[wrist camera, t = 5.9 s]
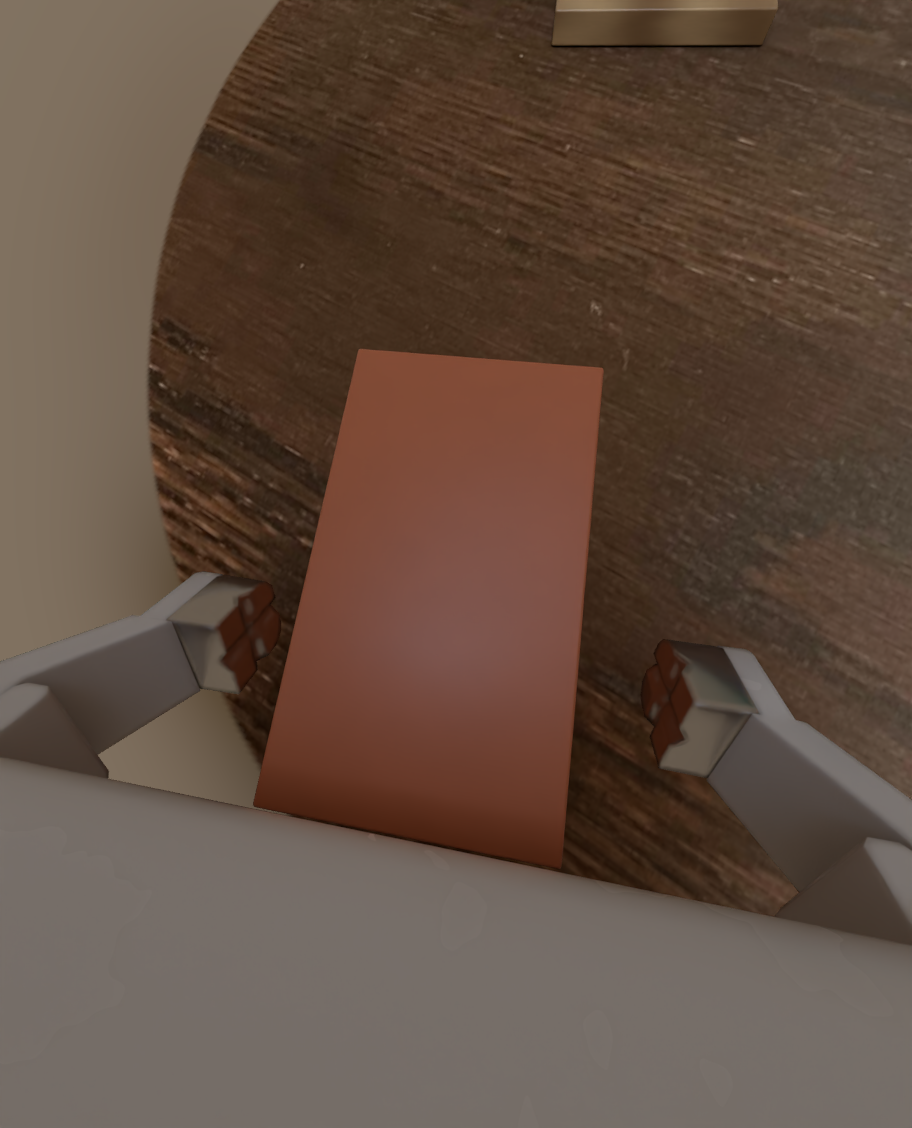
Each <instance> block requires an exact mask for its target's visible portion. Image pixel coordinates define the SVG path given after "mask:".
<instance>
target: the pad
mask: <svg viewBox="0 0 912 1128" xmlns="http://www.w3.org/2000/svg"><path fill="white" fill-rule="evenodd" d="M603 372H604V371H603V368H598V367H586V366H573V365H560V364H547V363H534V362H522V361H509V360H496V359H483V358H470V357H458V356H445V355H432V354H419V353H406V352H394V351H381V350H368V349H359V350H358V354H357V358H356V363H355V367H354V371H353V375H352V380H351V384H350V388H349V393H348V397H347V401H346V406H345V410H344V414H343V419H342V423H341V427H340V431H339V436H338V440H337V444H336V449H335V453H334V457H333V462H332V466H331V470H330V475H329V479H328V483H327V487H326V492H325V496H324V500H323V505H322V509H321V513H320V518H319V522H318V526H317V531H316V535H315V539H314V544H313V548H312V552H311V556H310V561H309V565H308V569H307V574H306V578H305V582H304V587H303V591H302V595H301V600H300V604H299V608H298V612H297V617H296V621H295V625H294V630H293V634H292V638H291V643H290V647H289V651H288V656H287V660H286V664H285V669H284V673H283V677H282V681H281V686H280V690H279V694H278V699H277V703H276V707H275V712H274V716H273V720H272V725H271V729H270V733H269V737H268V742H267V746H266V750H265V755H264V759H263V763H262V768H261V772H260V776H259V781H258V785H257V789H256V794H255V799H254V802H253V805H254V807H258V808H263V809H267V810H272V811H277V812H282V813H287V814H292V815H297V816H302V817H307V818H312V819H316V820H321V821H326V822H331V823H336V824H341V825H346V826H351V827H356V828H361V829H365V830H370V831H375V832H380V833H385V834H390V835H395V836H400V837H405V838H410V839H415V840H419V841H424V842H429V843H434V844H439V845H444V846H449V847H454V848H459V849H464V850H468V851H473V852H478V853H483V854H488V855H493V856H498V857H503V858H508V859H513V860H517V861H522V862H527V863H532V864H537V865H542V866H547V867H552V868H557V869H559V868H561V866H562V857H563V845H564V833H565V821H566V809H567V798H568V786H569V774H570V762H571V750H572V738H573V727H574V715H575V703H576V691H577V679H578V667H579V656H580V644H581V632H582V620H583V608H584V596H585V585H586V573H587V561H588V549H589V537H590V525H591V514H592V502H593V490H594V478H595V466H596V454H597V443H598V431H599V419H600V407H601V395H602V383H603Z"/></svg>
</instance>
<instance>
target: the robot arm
mask: <svg viewBox="0 0 912 1128" xmlns="http://www.w3.org/2000/svg"><path fill="white" fill-rule="evenodd" d="M275 598H276V597H275V594H274V590H273V587H272V585H271V584H269V583H268V582H266V581H261V580H255V579H249V578H243V577H237V576H231V575H222V574H217V573H211V572H205V571H204V572H198V573H195V574H194V575H192V576H191V577H190V578H188V579H187V580H186V581H185V582H183V583H182V584H181V585H179V586H178V587H177V588H175V589H174V590H173V591H172V592H170V593H169V594H168V595H166V596H165V597H164V598H163V599H161V600H160V601H159V602H157V603H156V604H155V605H154V606H152V607H151V608H150V609H148V610H147V611H146V612H145V613H143V614H142V615H141V616H135V615H132V616H129V617H126V618H123V619H120V620H118V621H115V622H112V623H109V624H106V625H103V626H101V627H97V628H95V629H92V630H89V631H86V632H83V633H80V634H77V635H74V636H72V637H69V638H66V639H63V640H60V641H57V642H54V643H51V644H49V645H46V646H43V647H40V648H37V649H35V650H31V651H29V652H26V653H23V654H20V655H17V656H14V657H12V658H9V659H6V660H3V661H0V1128H912V800H911V799H910V798H908V797H907V796H906V795H904V794H903V793H902V792H900V791H899V790H897V789H896V788H895V787H893V786H892V785H891V784H889V783H888V782H886V781H885V780H884V779H882V778H881V777H880V776H878V775H877V774H876V773H874V772H873V771H871V770H870V769H869V768H867V767H866V766H865V765H863V764H862V763H861V762H859V761H858V760H856V759H855V758H854V757H852V756H851V755H850V754H848V753H847V752H845V751H844V750H843V749H841V748H840V747H839V746H837V745H836V744H835V743H833V742H832V741H830V740H829V739H828V738H826V737H825V736H824V735H822V734H821V733H819V732H818V731H817V730H815V729H814V728H813V727H811V726H810V725H809V724H807V723H806V722H801V721H796V720H795V719H794V717H793V716H792V714H791V712H790V711H789V709H788V708H787V706H786V705H785V703H784V702H783V700H782V698H781V697H780V695H779V694H778V692H777V691H776V689H775V687H774V686H773V684H772V683H771V681H770V680H769V678H768V677H767V675H766V673H765V672H764V670H763V669H762V667H761V666H760V664H759V662H758V661H757V659H756V658H755V656H754V655H753V654H752V653H751V652H749V651H748V650H747V649H740V648H732V647H724V646H717V647H716V646H711V645H703V644H696V643H689V642H682V641H675V640H667V639H662V640H661V641H660V642H659V643H658V645H657V647H656V649H655V652H654V656H655V659H656V662H657V664H655V665H653V666H652V667H650V668H648V669H647V670H646V673H645V675H644V678H643V680H642V686H641V705H642V709H643V713H644V717H645V718H646V719H647V720H648V721H649V722H650V723H651V724H652V725H653V726H654V728H653V730H652V732H651V734H650V739H651V743H652V747H653V750H654V754H655V757H656V761H657V764H658V768H660V769H665V770H669V771H674V772H679V773H684V774H689V775H694V776H699V777H704V778H708V779H707V782H708V783H709V784H710V785H711V786H712V788H713V789H714V790H715V791H716V792H717V794H718V795H719V796H720V797H721V798H722V800H723V801H724V802H725V803H726V804H727V806H728V807H729V808H730V809H731V810H732V812H733V813H734V814H735V815H736V817H737V818H738V819H739V820H740V821H741V823H742V824H743V825H744V826H745V827H746V829H747V830H748V831H749V832H750V833H751V835H752V836H753V837H754V838H755V839H756V841H757V842H758V843H759V844H760V845H761V847H762V848H763V849H764V850H765V852H766V853H767V854H768V855H769V856H770V858H771V859H772V860H773V861H774V862H775V864H776V865H777V866H778V867H779V868H780V870H781V871H782V872H783V873H784V874H785V876H786V877H787V878H788V879H789V880H790V882H791V883H792V884H793V885H794V887H795V888H796V889H797V890H798V891H799V893H798V894H797V895H796V896H795V897H793V898H792V899H791V900H790V901H788V902H787V903H786V904H785V905H784V906H782V907H781V908H780V909H779V911H778V912H777V914H776V915H775V917H773V916H768V915H763V914H758V913H754V912H749V911H744V910H739V909H734V908H729V907H724V906H720V905H715V904H710V903H705V902H700V901H695V900H691V899H686V898H681V897H676V896H671V895H666V894H662V893H657V892H652V891H647V890H642V889H638V888H633V887H628V886H623V885H618V884H614V883H609V882H604V881H599V880H594V879H589V878H585V877H580V876H575V875H570V874H565V873H561V872H556V871H551V870H546V869H541V868H537V867H532V866H527V865H522V864H517V863H513V862H508V861H503V860H498V859H493V858H489V857H484V856H479V855H474V854H469V853H465V852H460V851H455V850H450V849H445V848H441V847H436V846H431V845H426V844H421V843H417V842H412V841H407V840H402V839H397V838H392V837H387V836H383V835H378V834H373V833H368V832H363V831H358V830H354V829H349V828H344V827H339V826H334V825H329V824H325V823H320V822H315V821H310V820H305V819H300V818H296V817H291V816H286V815H281V814H276V813H271V812H267V811H261V810H257V809H252V808H247V807H242V806H238V805H232V804H228V803H223V802H218V801H213V800H209V799H204V798H199V797H194V796H189V795H184V794H180V793H175V792H170V791H164V790H160V789H155V788H151V787H145V786H140V785H136V784H131V783H126V782H121V781H117V780H111V779H108V773H109V771H108V769H107V768H106V766H105V765H104V764H103V762H102V761H101V759H100V758H99V757H98V754H100V753H101V752H103V751H104V750H106V749H107V748H109V747H111V746H112V745H114V744H116V743H117V742H119V741H120V740H122V739H124V738H125V737H127V736H128V735H130V734H132V733H133V732H135V731H136V730H138V729H139V728H141V727H143V726H144V725H146V724H147V723H149V722H151V721H152V720H154V719H155V718H157V717H159V716H160V715H162V714H164V713H165V712H167V711H168V710H170V709H172V708H173V707H175V706H176V705H178V704H180V703H181V702H183V701H184V700H186V699H188V698H189V697H191V696H192V695H194V694H196V693H197V692H199V691H200V689H207V690H213V691H220V692H227V693H234V694H240V692H241V691H242V690H243V688H244V687H245V686H246V684H247V683H248V682H249V681H250V679H251V678H252V677H253V675H254V674H255V673H256V671H257V661H258V660H260V659H262V658H264V657H266V656H268V655H269V654H270V653H271V652H272V650H273V649H274V647H275V646H276V644H277V641H278V639H279V636H280V633H281V620H280V615H279V613H278V612H277V611H276V610H275V608H274V607H273V606H272V605H271V603H272V602H273V600H274V599H275ZM199 688H200V689H199Z"/></svg>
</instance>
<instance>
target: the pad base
mask: <svg viewBox="0 0 912 1128" xmlns="http://www.w3.org/2000/svg"><path fill="white" fill-rule="evenodd" d="M777 10H778V0H557V3H556V10H555V18H554V28H553V37H552V45H553V46H633V45H762V43H763V41H764V39H765V37H766V34H767V32H768V30H769V28H770V26H771V23H772V21H773V19H774V17H775V14H776V12H777Z"/></svg>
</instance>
